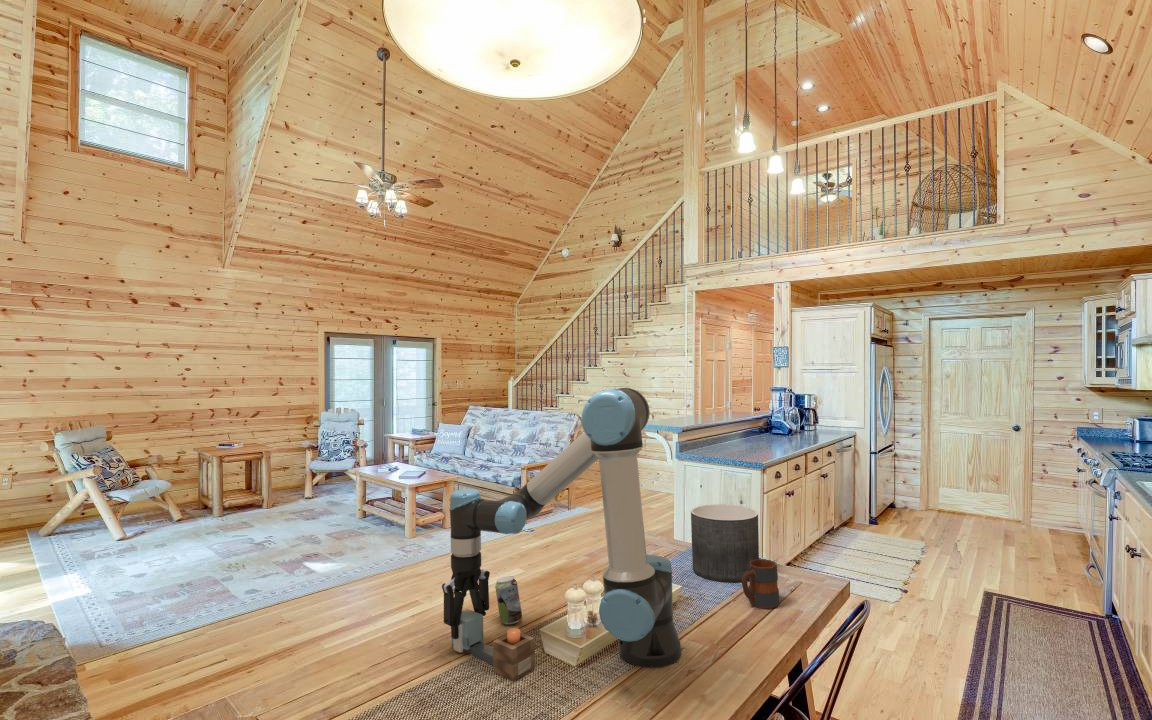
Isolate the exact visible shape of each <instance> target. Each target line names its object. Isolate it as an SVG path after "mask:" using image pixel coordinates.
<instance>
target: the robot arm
mask: <svg viewBox="0 0 1152 720" xmlns="http://www.w3.org/2000/svg"><path fill="white" fill-rule="evenodd" d="M650 414H651V413H650V405H649V403H648V401H647V399H646V397H645V396H644V395H643V394H642V393H641V392H639V391H638V390H636V389H634V388H629V387H620V388H608V389H605V390H602V391H598V392H597V393H595V394H594V395H592V396H591V397H590V398H588V400H587V401H586V403H585V404H584V406H583V409H582V412H581V426H582V429H583V432H582V433H581V434H579V436H578V437H577V438H576V439H575V440H574V441H572V442H571V443H570V444H569V445H568V446H567V447H565V448H564V449H563V450H562V451H561V452H560V453H559V454H558V455H556V456H555V458H553V459H552V460H551V461H550V462H549V463H548V464H547V465H545V466H544V467H543V468H542V469H541V470H540V471H539V472H537V473H536V475H535V476H533V477H532V478H531V479H530V480H529V481H528V482H527V483H526V484H524V485H523V486H522V487H520V489H519V490H517V491H516V492H515V493H513V494H510V495H508V496H506V497H503V498H501V499H498V500H497V499H496V500H495V499H494V500H492V499H491V500H490V499H482V498H481V497H482V496H481V492H480V491H479V490H478V489H474V488H463V489H458V490H454V491H453V492H452V493H451V494H450V497H449V500H450V501H449V509H448V510H449V520H450V522H449V523H450V552H451V555H450V568H451V572H452V575H451V578H450V581H449V582H447V583H445V582H443V583H442V585H441V588H442V592H443V624H445V625H447V626H449V627H450V637H451V639H452V638H453V646H452V647H453V650H454V651H456V652H458V653H460V654H461V653H464V651H463V628H462V624H460V619H461V614H462V611H463V608H464V603H465V602H464V601H465V598H466V597H467V593H468V592H469V596H470V600H471V604H472V608H473V611H474V612H477V613H479V614H482V615H483V617H486V615H487V612H486V611H489V609H490V594H489V593H490V592H489V591H490V590H489V581H490V579H489V578H490V573H491V572H490V571H488V570H487V569H486V570H485V569H483V568H482V569H481V567H482V552H481V550H482V532H489V533H498V534H503V535H508V534H509V535H510V534H513V535H515V534H520V533H521V532H522V531H523V530H524V529H523V528H525V526H526V522H527V521H528V520H529V519H532V518H534V517H536V516H537V515H539V513H540V512H542V510H543V508H544V507H545V506H546V505H548V503H549V502H550V501H551V500H553V499H554V498H555V497H557V495H559V493H561V492H562V491H563V490H564V489H566V488H567V487H568V486H569V485H570V484H571V483H573V482H574V481H575V480H576V479H577V478H579V476H581V475H582V474H583V473H584V472H585V471H586V470H587V469H589V468H590V467H591V466H592V465H593V464H595V463H596V462H597V461H599V473H600V485H601V495H602V496H601V497H602V507H603V516H604V517H603V518H604V529H605V538H606V549H607V561H608V566H607V567H606V568H605V569H604V570H603V572H602V578H603V590H604V592H603V593H604V594H603V596H602V598H601V599H600V603H599V607H598V614H599V615H598V616H599V619H600V622H601V624H602V625H603V627H604V629H605V630H606V631H607V632H609V633H610V635H611V636H612V637H614V638H616V639H617V640H618V646H617V647H618V655H619V656H620V658H621V659H622V660H623V661H625V662H626V663H628V664H631V665H633V666H636V667H643V668H653V669H654V668H655V669H656V668H663V667H667V666H670V665H673V664H675V663H676V662H678V661H679V660H680V658H681V656H682V643H681V641H680V639H679V635H678V631H677V629H676V626H675V623H674V618H673V617H674V616H673V615H674V614H673V613H674V611H673V610H674V609H673V607H674V606H673V605H674V604H673V570H672V569H673V568H672V562H671V561H670V559H669V558H667V557H665V556H661V555H655V554H647V548H646V537H645V525H644V516H643V514H644V513H643V504H642V496H641V486H640V485H641V483H640V473H639V464H638V463H639V462H638V454H639V453H640V452H641V450H642V449H643V448H644V443H643V435H642V434H643V433H642V431H643V430H644V428H646V425H647V424H648V421H649V419H650Z"/></svg>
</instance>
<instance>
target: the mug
mask: <svg viewBox="0 0 1152 720" xmlns="http://www.w3.org/2000/svg"><path fill="white" fill-rule="evenodd" d="M748 577H749V578H750V580H749V586H748V581H747V578H748ZM778 580H779V575H778V565H777V564H776V562H774V561H773V560H768V559H761V558H759V559H757V560H752V561H750V563H749V571H748V572H745V573H744V574H743V576H742V582H741V584H742V586H741V587H742V590H743V593H744V595H745V597H746V598H747V599H748V601H749V603H750V605H751V606H753V607H755V608H759V609H764V610H772V609H775V608H777V607H778V606H779V604H780V590H779V587H778V586H779V585H778Z"/></svg>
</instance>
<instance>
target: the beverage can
mask: <svg viewBox="0 0 1152 720" xmlns="http://www.w3.org/2000/svg"><path fill="white" fill-rule="evenodd" d="M494 589H495V593H496V602H497V607H498V614H499V620H500V622H501V623H502V624H505V625H513V624H516V623H518V622H520V620H521V619H522V618H523V612H522V607H521V600H520V599H521V598H520V593H519V588H518V581H517V580H516V578H515V577H514V576H513V575H512V576H511V575H508V576H503V577H501V578H498V579H497V580H496V583H495V587H494Z"/></svg>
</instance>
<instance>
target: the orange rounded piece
mask: <svg viewBox="0 0 1152 720" xmlns="http://www.w3.org/2000/svg"><path fill="white" fill-rule="evenodd" d="M520 633H521V630H520V628H518V627H513V628H512V627H511V628H509V629H507V631H506V635H507V644H510V645H512V646H513V645H514V644H516V643H518V642H520Z"/></svg>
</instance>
